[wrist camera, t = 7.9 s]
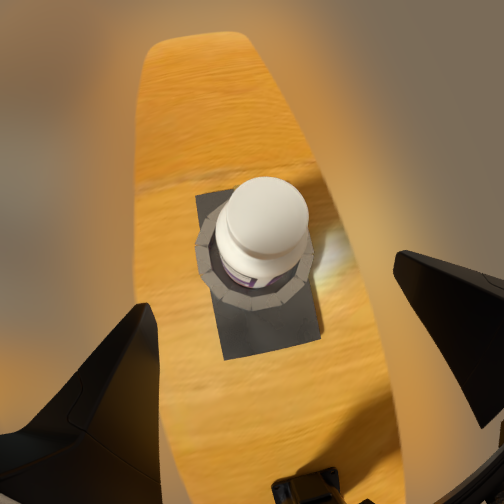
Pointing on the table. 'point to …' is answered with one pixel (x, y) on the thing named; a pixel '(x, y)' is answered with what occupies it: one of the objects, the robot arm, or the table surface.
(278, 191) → the pill bottle
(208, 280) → the collar
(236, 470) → the table surface
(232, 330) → the plate
